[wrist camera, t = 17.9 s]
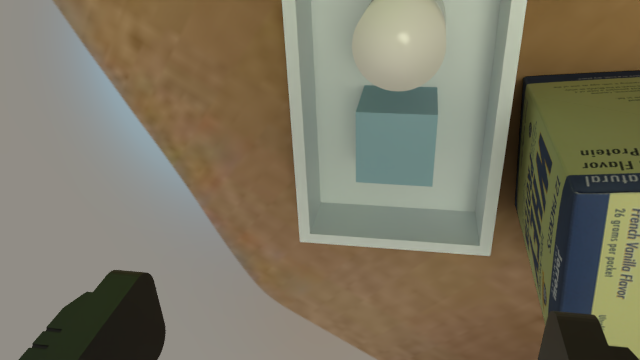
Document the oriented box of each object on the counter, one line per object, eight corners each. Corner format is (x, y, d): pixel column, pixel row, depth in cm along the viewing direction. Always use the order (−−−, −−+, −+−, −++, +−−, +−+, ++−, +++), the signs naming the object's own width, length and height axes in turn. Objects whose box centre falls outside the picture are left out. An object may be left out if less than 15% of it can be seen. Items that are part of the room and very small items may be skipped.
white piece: (447, -24, 32) (448, -4, 26) (443, 56, 35) (443, 91, 29) (367, -22, 33) (350, -1, 27) (368, 56, 36) (353, 91, 30)
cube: (432, 152, 38) (432, 186, 34) (364, 149, 39) (355, 182, 35) (437, 87, 36) (438, 115, 32) (364, 85, 37) (355, 112, 33)
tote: (484, 216, 41) (490, 256, 37) (312, 206, 43) (299, 241, 39) (520, -59, 31) (534, -49, 27) (297, -53, 34) (278, -43, 30)
